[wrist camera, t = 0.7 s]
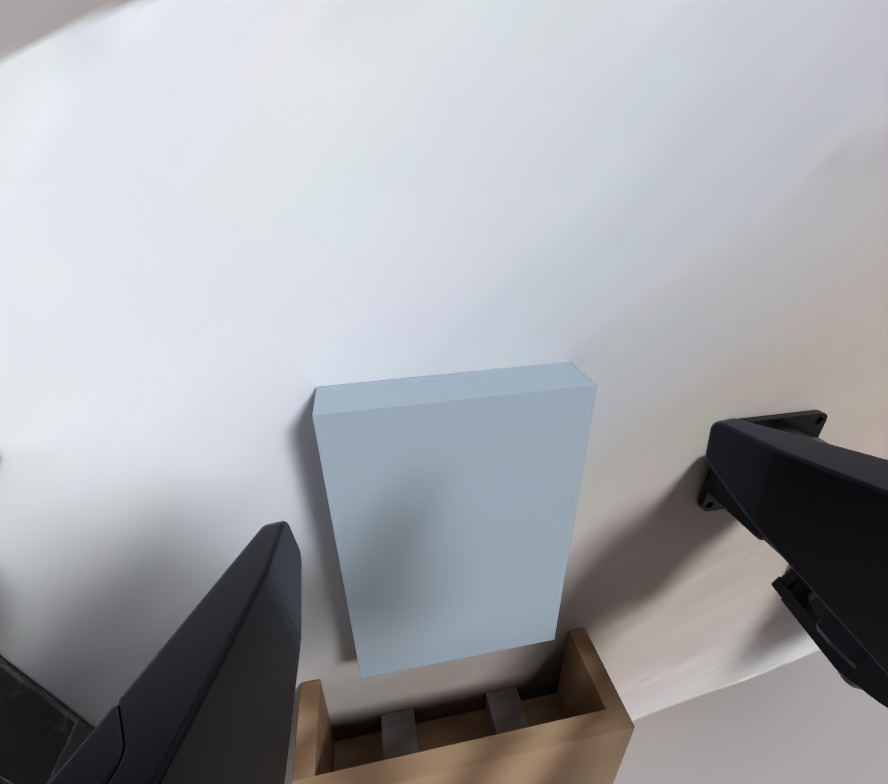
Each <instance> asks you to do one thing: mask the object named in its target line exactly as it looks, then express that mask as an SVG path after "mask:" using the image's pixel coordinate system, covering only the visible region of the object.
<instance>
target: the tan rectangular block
mask: <svg viewBox="0 0 888 784" xmlns="http://www.w3.org/2000/svg"><path fill="white" fill-rule="evenodd" d="M485 708H486V709H481V710H477V711H472V712H468V713H463V714H458V715H454V716H449V717H445V718H440V719H435V720H431V721H426V722H422V723H417V724H415V716H414V708H413V709H408V710H404V711H399V712H394V713H389V714H385V715H381V721H382V731H380V732H376V733H371V734H366V735H362V736H357V737H353V738H348V739H343V740H339V741H334V736H333V732H332V728H331V724H330V719H329V715H328V711H327V707H326V703H325V698H324V694H323V690H322V686H321V681H320V680H315V681H310V682H305V683H301V691H300V702H299V712H298V723H297V734H296V745H295V755H294V766H293V777H292V784H613V782H614V779H615V777H616V774H617V771H618V769H619V766H620V764H621V761H622V759H623V756H624V753H625V751H626V748H627V746H628V743H629V740H630V738H631V735H632V732H633V730H634V725H633V723H632V721H631V719H630V717H629V715H628V713H627V711H626V709H625V707H624V705H623V703H622V701H621V699H620V697H619V695H618V693H617V691H616V689H615V687H614V685H613V683H612V681H611V679H610V677H609V675H608V673H607V671H606V669H605V667H604V665H603V663H602V661H601V659H600V657H599V655H598V653H597V651H596V649H595V647H594V645H593V643H592V642H591V640H590V638H589V636H588V634H587V632H586V630H585V628H584V629H579V630H574V631H569V636H568V641H567V646H566V651H565V655H564V660H563V665H562V670H561V674H560V679H559V684H558V689H557V693H555V694H551V695H546V696H541V697H537V698H532V699H528V700H523V701H521V700H520V697H519V694H518V691H517V688H516V687H513V688H508V689H503V690H498V691H494V692H489V693H486V704H485Z"/></svg>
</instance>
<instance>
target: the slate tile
mask: <svg viewBox="0 0 888 784" xmlns="http://www.w3.org/2000/svg"><path fill="white" fill-rule="evenodd" d="M596 386H597V385H596V384H595V383H594V382H593V381H592V380H591V379H590V378H588V377H587V376H586V375H585V374H584V373H583V372H582V371H581V370H580V369H579V368H577V367H576V366H575V365H574V364H573V363H572V362H563V363H553V364H543V365H533V366H523V367H513V368H502V369H492V370H482V371H472V372H462V373H452V374H441V375H431V376H421V377H411V378H401V379H391V380H380V381H370V382H360V383H350V384H340V385H330V386H319V387H316V393H315V400H314V407H313V413H312V417H313V423H314V428H315V434H316V439H317V444H318V450H319V455H320V460H321V466H322V471H323V477H324V482H325V487H326V493H327V498H328V503H329V509H330V514H331V520H332V525H333V530H334V536H335V541H336V546H337V552H338V557H339V563H340V568H341V573H342V579H343V584H344V589H345V595H346V600H347V606H348V611H349V616H350V622H351V627H352V632H353V638H354V643H355V649H356V654H357V659H358V665H359V670H360V675H361V679H363V678H368V677H373V676H378V675H383V674H388V673H393V672H398V671H403V670H408V669H413V668H417V667H422V666H427V665H432V664H437V663H442V662H447V661H452V660H457V659H462V658H467V657H472V656H476V655H481V654H486V653H491V652H496V651H501V650H506V649H511V648H516V647H521V646H526V645H531V644H535V643H540V642H545V641H550V640H554V638H555V632H556V626H557V620H558V614H559V608H560V602H561V596H562V590H563V584H564V578H565V572H566V566H567V560H568V554H569V548H570V542H571V536H572V530H573V524H574V518H575V512H576V506H577V500H578V494H579V488H580V482H581V476H582V470H583V464H584V458H585V452H586V446H587V440H588V434H589V428H590V422H591V416H592V410H593V404H594V398H595V392H596Z"/></svg>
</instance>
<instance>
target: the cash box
mask: <svg viewBox="0 0 888 784" xmlns="http://www.w3.org/2000/svg"><path fill="white" fill-rule="evenodd" d="M93 731H94V729H93V728H92V727H91V726H89V725H88V724H87V723H85V722H84V721H83V720H82V719H80V718H79V717H78V716H77V715H75V714H74V713H73V712H71V711H70V710H69V709H68V708H66V707H65V706H64V705H62V704H61V703H60V702H58V701H57V700H56V699H55V698H53V697H52V696H51V695H49V694H48V693H47V692H45V691H44V690H43V689H42V688H40V687H39V686H38V685H36V684H35V683H34V682H33V681H31V680H30V679H29V678H27V677H26V676H25V675H23V674H22V673H21V672H20V671H18V670H17V669H16V668H14V667H13V666H12V665H10V664H9V663H8V662H7V661H5V660H4V659H3V658H1V657H0V784H48V783H49V782H50V781H51V779H52V778H53V777H54V776H55V775H56V774H57V773H58V772H59V770H60V769H61V768H62V767H63V766H64V765H65V763H66V762H67V761H68V760H69V759H70V758H71V756H72V755H73V754H74V753H75V752H76V750H77V749H78V748H79V747H80V746H81V745H82V743H83V742H84V741H85V740H86V739H87V738H88V736H89V735H90V734H91V733H92V732H93Z"/></svg>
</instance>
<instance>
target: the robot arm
mask: <svg viewBox="0 0 888 784" xmlns="http://www.w3.org/2000/svg"><path fill="white" fill-rule="evenodd" d="M826 419H827V415H826V414H825V413H823V412H821V411H820V410H810V411H802V412H793V413H784V414H776V415H767V416H758V417H750V418H741V419H734V418H731V419H726V420H722V421H717V422H715V423H714V424H713V425H712V426H711V429H710V435H709V440H708V445H707V450H706V457H707V461H708V463H709V465H710V469H709V472H708V475H707V477H706V480H705V483H704V486H703V489H702V492H701V495H700V497H699V500H698V506H699V507H700V508H701V509H702V510H704V511H712V510H718V509H726V510H727V511H728V512H729V513H730V514H731V515H732V516H734V517H735V518H736V519H737V520H738V521H739V522H740V523H741V524H742V525H743V526H744V527H745V528H747V529H748V530H749V531H750V532H751V533H752V534H753V535H754V536H755V537H756V538H757V539H759V540H765V541H766V542H767V543H768V544H769V545H770V546H771V547H772V548H773V549H775V550H776V551H777V552H778V553H779V554H780V555H781V556H782V557H783V558H784V559H785V560H786V561H787V562H788V563H789V565H790V566H791V568H790V569H789V570H788V571H787V572H786V573H785V574H784V575H783V576H782V577H778V578H777V579H776V580H775V581H774V582H773V583H771V584H772V586H773V587H774V589H775V590H776V591H777V592H778V594H779V595H780V596H781V597H782V599H781V600H782V601H783V602H784V604H785V605H786V606H787V608H788V609H789V610H790V611H791V613H792V614H793V615H794V616H795V618H796V619H797V620H798V622H799V623H800V624H801V625H802V627H803V628H804V629H805V630H806V632H807V633H808V634H809V635H810V637H811V638H812V639H813V641H814V642H815V643H816V644H817V646H818V647H819V648H820V649H821V651H822V652H823V653H824V654H825V656H826V657H827V658H828V660H829V661H830V662H831V663H832V665H833V666H834V667H835V668H836V669H837V670H838V673H839V674H840V676H841V677H842V678H843V679H844V681H846V682H847V683H848V684H849V685H850V686H852V687H854V688H858V689H861V690H864V691H865V692H866V693H867V694H869V695H870V696H871V697H873V698H874V699H875V700H877V701H878V702H879V703H881V704H883V705H884V706H886V707H887V708H888V460H886V459H882V458H878V457H875V456H871V455H867V454H864V453H860V452H856V451H853V450H849V449H845V448H842V447H838V446H834V445H831V444H828V443H826V442H825V441H823V440H821V439H820V438H818V436H819V434H820V432H821V430H822V428H823V426H824V424H825V422H826ZM300 642H301V554H300V550H299V547H298V545H297V543H296V540H295V538H294V536H293V533H292V531H291V529H290V526H289V524H288V523H287V522H285V521H280V522H276V523H271V524H267V525H265V526H263V527H262V528H261V529H260V531H259V532H258V533H257V534H256V535H255V537H254V538H253V539H252V540H251V541H250V543H249V544H248V545H247V546H246V547H245V549H244V550H243V551H242V552H241V553H240V555H239V556H238V557H237V558H236V560H235V561H234V562H233V563H232V564H231V566H230V567H229V568H228V569H227V570H226V572H225V573H224V574H223V575H222V576H221V578H220V579H219V580H218V581H217V582H216V584H215V585H214V586H213V587H212V588H211V590H210V591H209V592H208V593H207V595H206V596H205V597H204V598H203V599H202V601H201V602H200V603H199V604H198V605H197V607H196V608H195V609H194V610H193V611H192V613H191V614H190V615H189V616H188V617H187V619H186V620H185V621H184V622H183V623H182V625H181V626H180V627H179V628H178V630H177V631H176V632H175V633H174V634H173V636H172V637H171V638H170V639H169V640H168V642H167V643H166V644H165V645H164V646H163V648H162V649H161V650H160V651H159V652H158V654H157V655H156V656H155V657H154V658H153V660H152V661H151V662H150V663H149V664H148V666H147V667H146V668H145V669H144V671H143V672H142V673H141V674H140V675H139V677H138V678H137V679H136V680H135V681H134V683H133V684H132V685H131V686H130V687H129V689H128V690H127V691H126V692H125V693H124V695H123V696H122V697H121V698H120V700H119V705H115V706H114V707H113V708H112V709H111V710H110V711H109V712H108V714H107V715H106V716H105V717H104V719H103V720H102V721H101V722H100V723H99V725H98V726H97V727H96V728H95V729H94V731H93V732H92V733H91V734H90V735H89V736H88V738H87V739H86V740H85V741H84V742H83V743H82V745H81V746H80V747H79V748H78V749H77V750H76V752H75V753H74V754H73V755H72V756H71V758H70V759H69V760H68V761H67V762H66V763H65V765H64V766H63V767H62V768H61V769H60V770H59V772H58V773H57V774H56V775H55V776H54V777H53V778H52V779H51V781H50V782H49V783H48V784H284V781H285V773H286V764H287V756H288V747H289V738H290V730H291V721H292V713H293V704H294V696H295V687H296V678H297V670H298V661H299V653H300Z"/></svg>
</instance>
